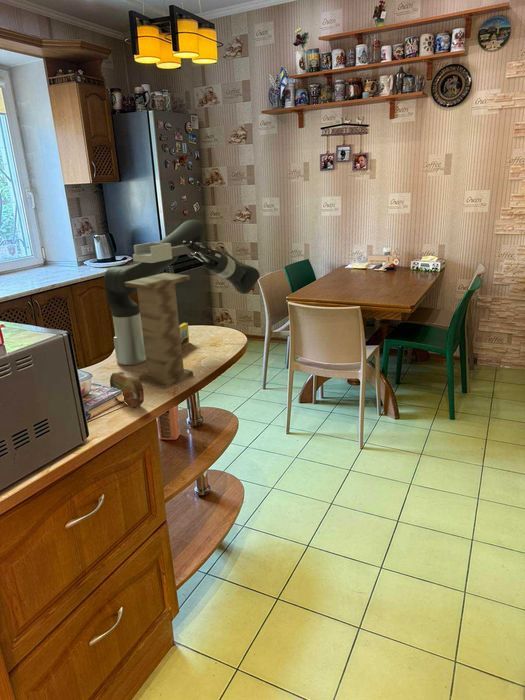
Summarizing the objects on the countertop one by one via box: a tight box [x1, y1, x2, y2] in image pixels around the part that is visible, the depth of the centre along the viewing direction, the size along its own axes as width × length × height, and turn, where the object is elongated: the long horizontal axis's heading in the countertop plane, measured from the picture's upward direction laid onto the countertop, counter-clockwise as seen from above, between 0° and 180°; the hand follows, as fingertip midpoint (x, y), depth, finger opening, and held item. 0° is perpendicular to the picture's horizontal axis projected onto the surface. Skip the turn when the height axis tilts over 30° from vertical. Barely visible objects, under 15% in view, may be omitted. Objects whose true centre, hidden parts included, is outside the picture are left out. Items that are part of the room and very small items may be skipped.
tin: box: [109, 371, 145, 409], centre depth 141 cm, size 15×3×8 cm, turn 45°
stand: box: [125, 272, 194, 389], centre depth 153 cm, size 16×12×32 cm
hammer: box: [132, 241, 202, 263], centre depth 150 cm, size 24×8×4 cm, turn 144°
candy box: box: [179, 322, 190, 349], centre depth 183 cm, size 16×2×8 cm, turn 161°
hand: (186, 244), depth 155 cm, fingers closed on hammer, 2 cm apart
